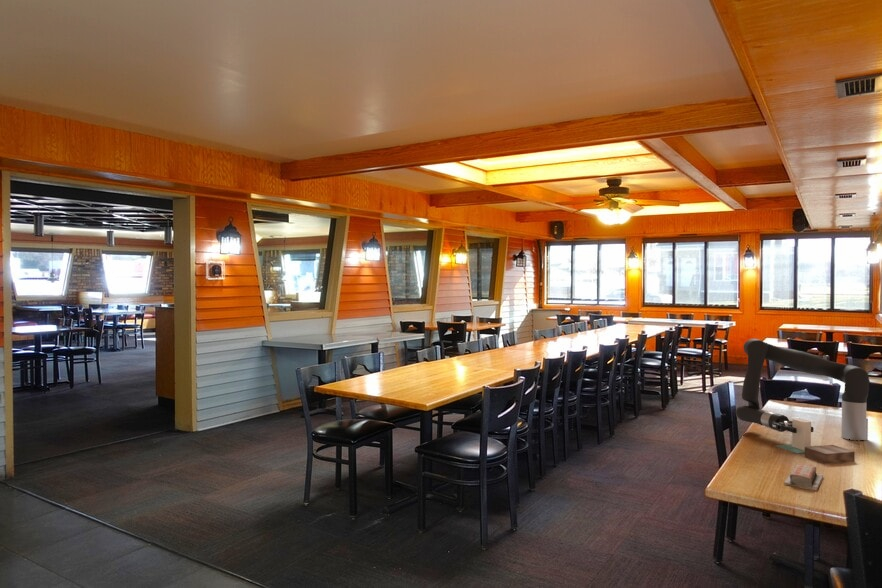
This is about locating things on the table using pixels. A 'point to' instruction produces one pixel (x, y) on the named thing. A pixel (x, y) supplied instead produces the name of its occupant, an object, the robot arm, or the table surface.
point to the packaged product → (804, 477)
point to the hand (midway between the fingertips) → (804, 430)
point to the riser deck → (829, 454)
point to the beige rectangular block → (801, 434)
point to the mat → (792, 449)
